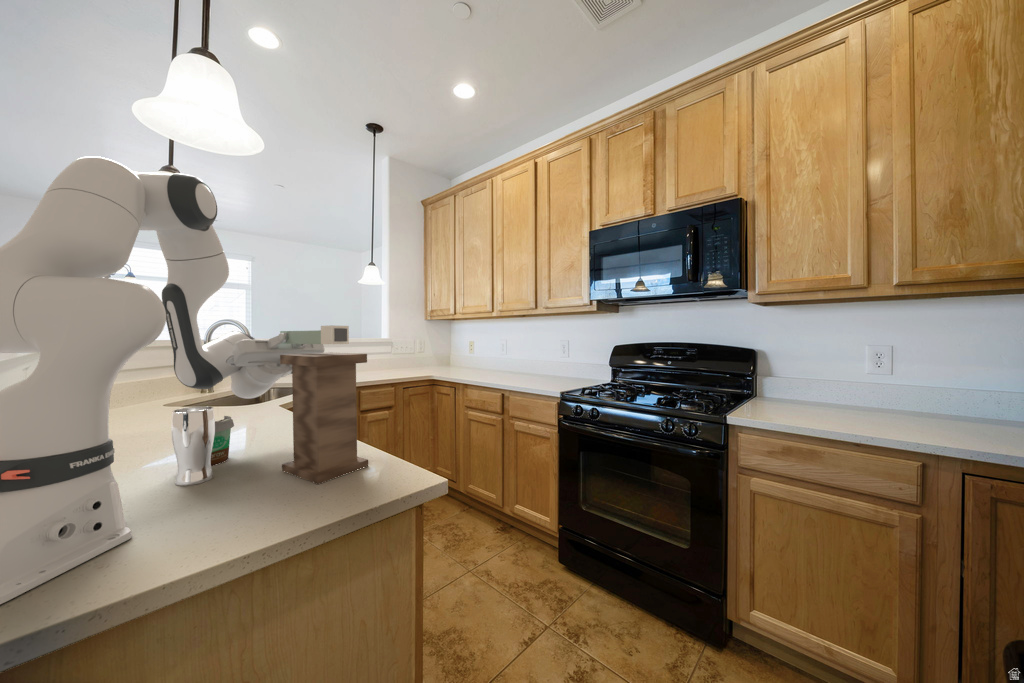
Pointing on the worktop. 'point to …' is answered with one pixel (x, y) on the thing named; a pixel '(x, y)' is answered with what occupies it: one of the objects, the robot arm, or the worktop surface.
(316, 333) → the sage bar
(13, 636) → the worktop surface
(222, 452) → the food container
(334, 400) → the wooden pedestal column
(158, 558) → the worktop surface
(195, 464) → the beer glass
